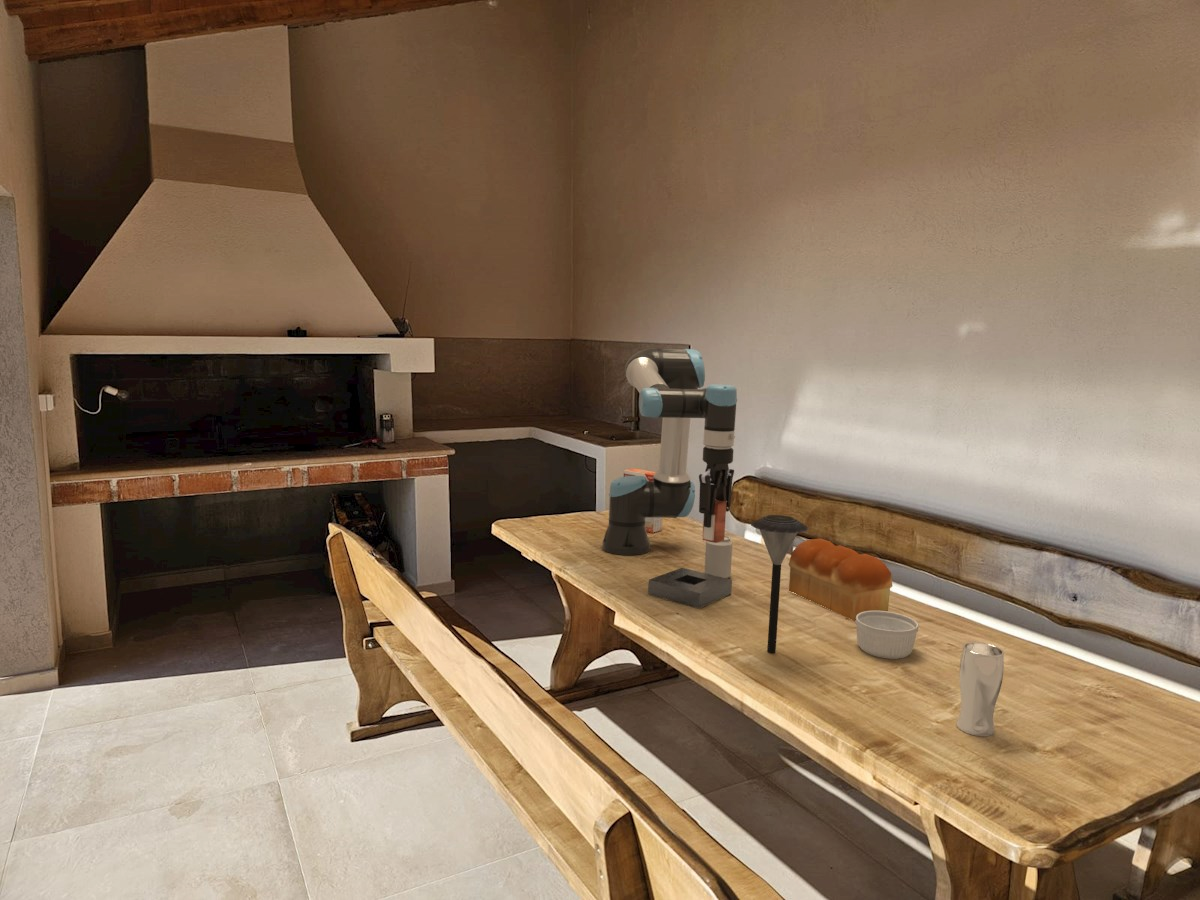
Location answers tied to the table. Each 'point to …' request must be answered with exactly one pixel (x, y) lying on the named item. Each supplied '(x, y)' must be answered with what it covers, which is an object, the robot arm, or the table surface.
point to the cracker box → (650, 523)
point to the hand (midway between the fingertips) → (713, 537)
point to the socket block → (690, 587)
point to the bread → (839, 578)
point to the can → (718, 558)
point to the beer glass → (979, 687)
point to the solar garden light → (777, 559)
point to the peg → (718, 521)
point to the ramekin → (886, 634)
